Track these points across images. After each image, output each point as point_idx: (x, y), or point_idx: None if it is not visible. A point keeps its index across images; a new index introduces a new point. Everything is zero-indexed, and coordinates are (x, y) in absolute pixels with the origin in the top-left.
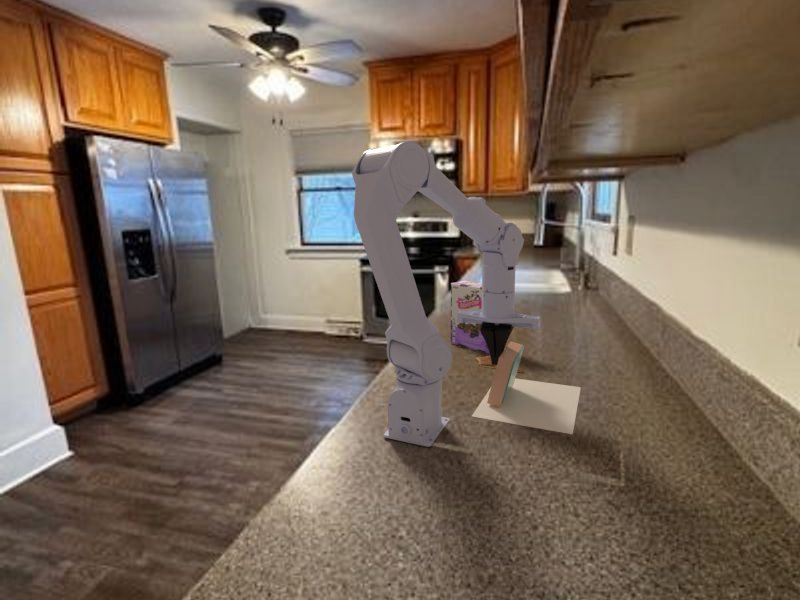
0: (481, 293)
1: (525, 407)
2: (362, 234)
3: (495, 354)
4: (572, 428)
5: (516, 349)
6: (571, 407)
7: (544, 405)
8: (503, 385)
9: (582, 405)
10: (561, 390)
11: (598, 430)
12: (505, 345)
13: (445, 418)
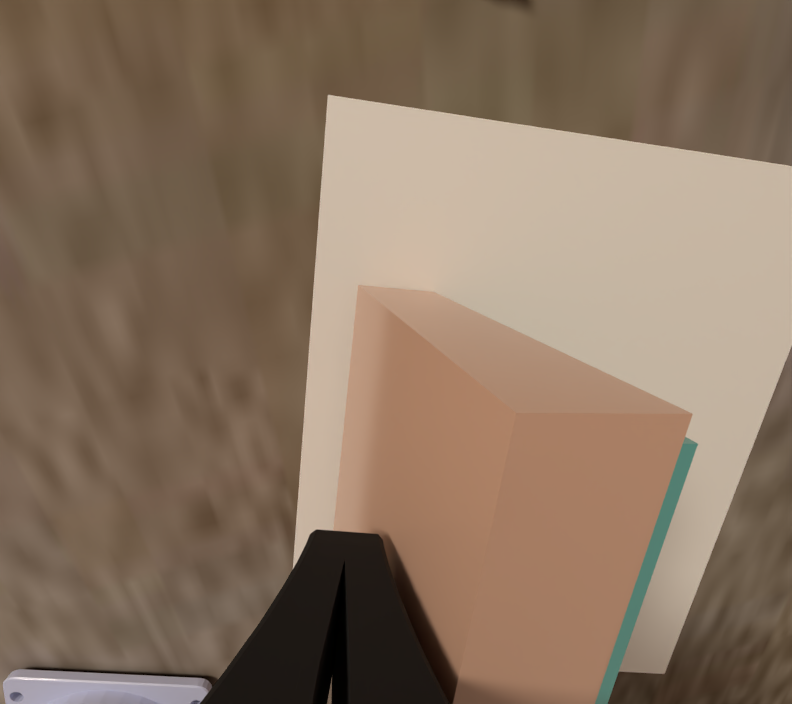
0: None
1: None
2: None
3: (324, 701)
4: (673, 638)
5: (576, 648)
6: (719, 469)
7: None
8: None
9: (775, 388)
10: (724, 264)
11: (762, 589)
12: (437, 683)
13: (189, 693)
